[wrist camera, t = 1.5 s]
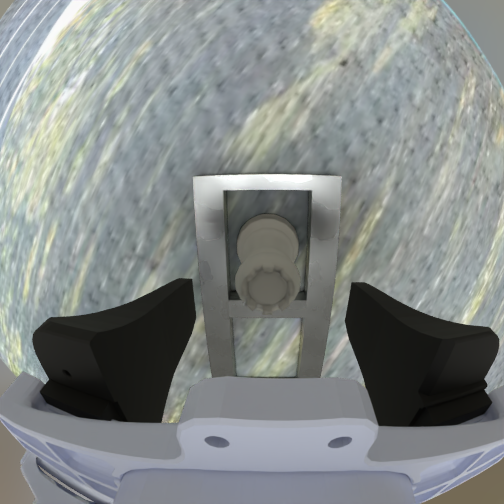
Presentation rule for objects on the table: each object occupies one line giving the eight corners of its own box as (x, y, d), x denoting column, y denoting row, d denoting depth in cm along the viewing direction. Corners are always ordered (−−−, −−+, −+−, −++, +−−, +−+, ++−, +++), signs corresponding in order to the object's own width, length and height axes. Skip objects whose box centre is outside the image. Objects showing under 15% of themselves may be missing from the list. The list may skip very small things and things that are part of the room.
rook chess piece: (276, 200, 19) (283, 226, 12) (309, 250, 20) (332, 303, 13) (225, 233, 20) (200, 278, 12) (259, 280, 21) (254, 344, 14)
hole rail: (224, 431, 28) (223, 442, 26) (198, 175, 19) (192, 176, 17) (304, 432, 27) (305, 443, 26) (336, 175, 18) (342, 176, 17)
